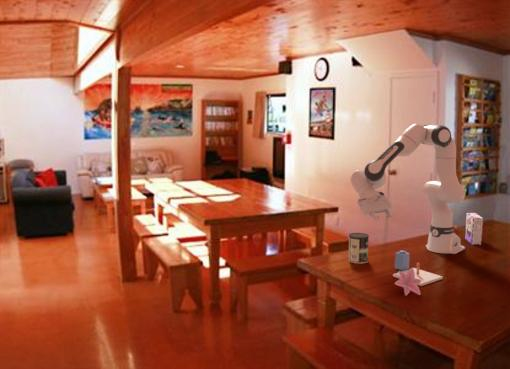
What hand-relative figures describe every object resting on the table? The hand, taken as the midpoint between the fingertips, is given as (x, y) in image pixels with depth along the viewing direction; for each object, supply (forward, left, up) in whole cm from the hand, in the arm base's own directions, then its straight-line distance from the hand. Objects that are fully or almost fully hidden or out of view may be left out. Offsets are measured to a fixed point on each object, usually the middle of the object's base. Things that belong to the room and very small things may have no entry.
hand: (383, 219), depth 252 cm
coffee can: (+8, -10, -24) cm, 27 cm away
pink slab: (+5, +25, -23) cm, 35 cm away
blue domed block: (0, +12, -23) cm, 26 cm away
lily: (+24, +34, -24) cm, 48 cm away
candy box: (-75, +5, -24) cm, 79 cm away
